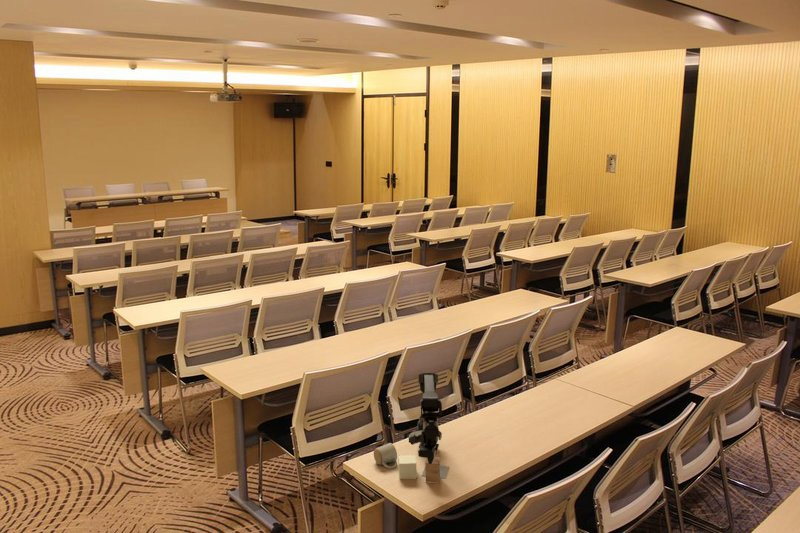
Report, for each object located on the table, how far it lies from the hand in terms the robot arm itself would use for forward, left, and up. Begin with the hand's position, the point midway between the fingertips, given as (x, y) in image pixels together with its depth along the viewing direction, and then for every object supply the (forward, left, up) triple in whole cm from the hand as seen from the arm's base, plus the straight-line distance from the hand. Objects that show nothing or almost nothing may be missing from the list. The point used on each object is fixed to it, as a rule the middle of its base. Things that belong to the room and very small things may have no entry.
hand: (430, 463), depth 272 cm
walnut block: (-6, 0, -10) cm, 12 cm away
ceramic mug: (-15, -22, -11) cm, 29 cm away
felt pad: (-13, 0, -10) cm, 16 cm away
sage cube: (-8, -11, -10) cm, 17 cm away
